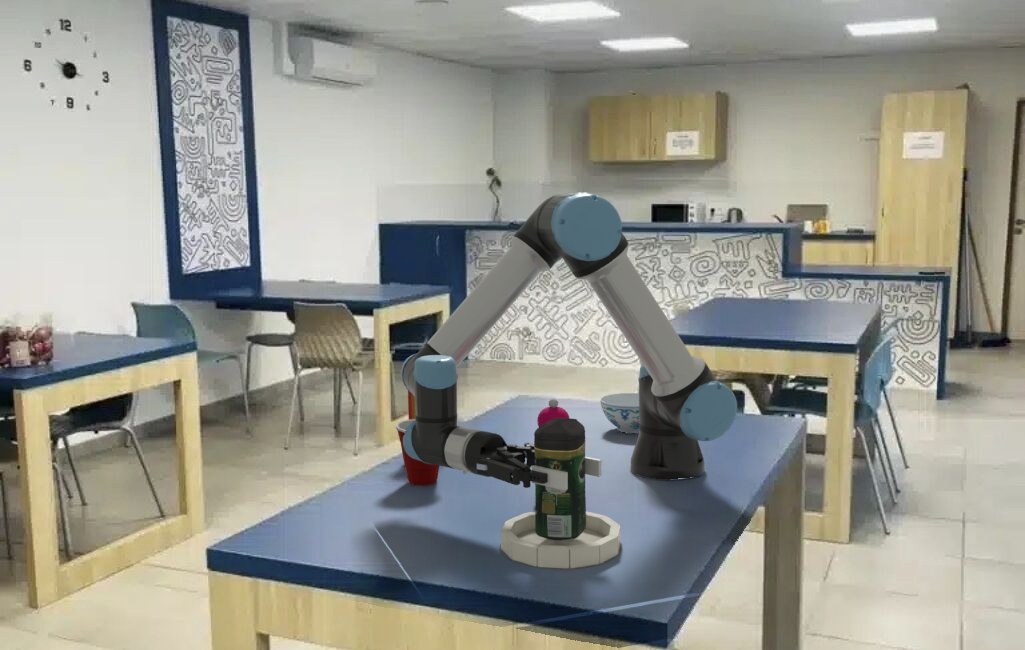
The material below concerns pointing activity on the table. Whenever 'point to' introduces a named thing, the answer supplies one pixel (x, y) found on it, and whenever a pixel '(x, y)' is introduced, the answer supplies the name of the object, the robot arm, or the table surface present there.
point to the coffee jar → (565, 451)
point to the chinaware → (622, 411)
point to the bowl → (561, 543)
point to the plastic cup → (416, 463)
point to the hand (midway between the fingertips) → (583, 474)
